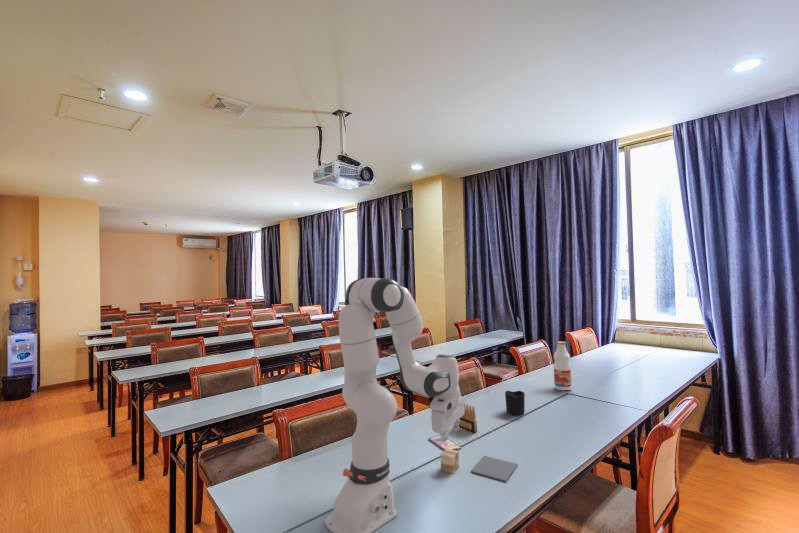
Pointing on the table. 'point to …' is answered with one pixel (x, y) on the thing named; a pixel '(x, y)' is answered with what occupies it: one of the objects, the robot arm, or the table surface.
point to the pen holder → (515, 402)
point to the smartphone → (444, 443)
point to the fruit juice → (562, 367)
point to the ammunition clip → (468, 419)
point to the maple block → (450, 461)
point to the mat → (494, 468)
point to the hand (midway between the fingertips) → (450, 435)
